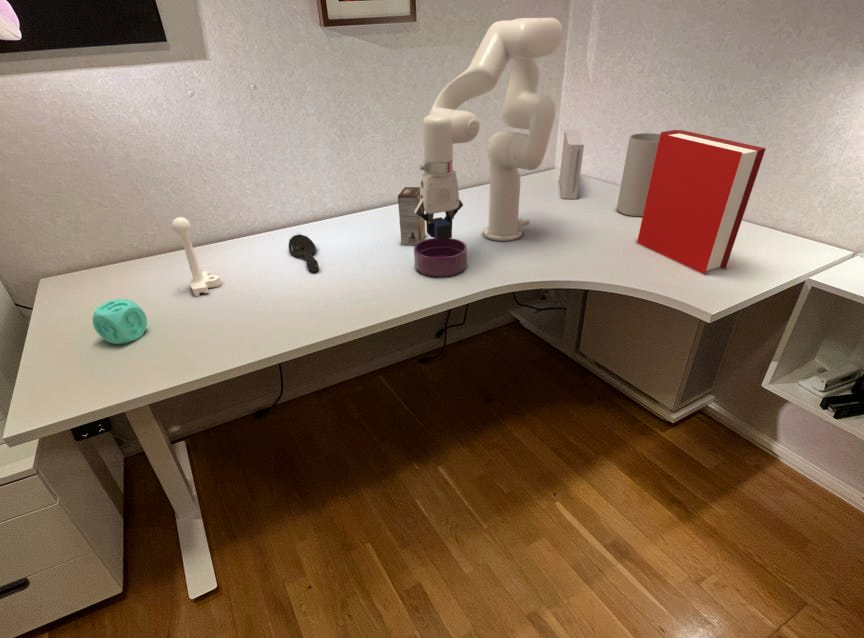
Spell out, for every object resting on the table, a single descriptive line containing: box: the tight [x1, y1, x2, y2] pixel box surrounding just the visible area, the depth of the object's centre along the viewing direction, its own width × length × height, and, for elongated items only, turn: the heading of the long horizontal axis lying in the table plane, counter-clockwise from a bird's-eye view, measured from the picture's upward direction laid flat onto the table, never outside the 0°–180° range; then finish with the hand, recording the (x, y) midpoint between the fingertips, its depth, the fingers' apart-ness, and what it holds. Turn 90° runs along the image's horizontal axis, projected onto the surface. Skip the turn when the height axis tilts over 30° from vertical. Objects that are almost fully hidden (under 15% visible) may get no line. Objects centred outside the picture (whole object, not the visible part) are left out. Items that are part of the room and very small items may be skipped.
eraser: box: [433, 216, 453, 240], centre depth 141 cm, size 5×7×4 cm, turn 24°
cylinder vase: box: [616, 132, 661, 217], centre depth 174 cm, size 12×12×25 cm
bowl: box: [413, 237, 468, 278], centre depth 146 cm, size 15×15×6 cm
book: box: [636, 129, 767, 275], centre depth 141 cm, size 27×8×32 cm, turn 24°
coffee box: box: [397, 186, 427, 246], centre depth 161 cm, size 9×6×16 cm
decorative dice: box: [92, 298, 148, 345], centre depth 119 cm, size 8×8×8 cm
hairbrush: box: [288, 232, 320, 274], centre depth 156 cm, size 8×4×25 cm
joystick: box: [171, 216, 222, 297], centre depth 137 cm, size 11×8×20 cm
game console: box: [558, 129, 585, 200], centre depth 200 cm, size 6×27×20 cm, turn 171°
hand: (439, 233), depth 142 cm, fingers closed on eraser, 4 cm apart
